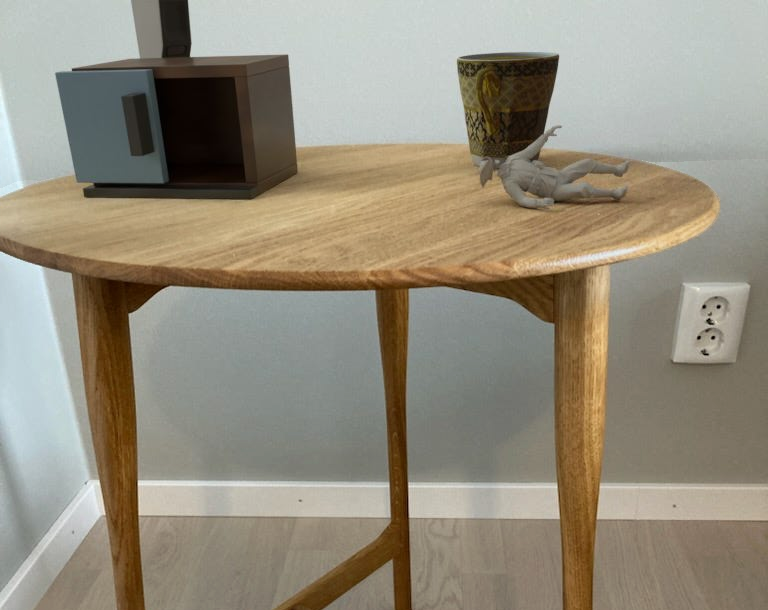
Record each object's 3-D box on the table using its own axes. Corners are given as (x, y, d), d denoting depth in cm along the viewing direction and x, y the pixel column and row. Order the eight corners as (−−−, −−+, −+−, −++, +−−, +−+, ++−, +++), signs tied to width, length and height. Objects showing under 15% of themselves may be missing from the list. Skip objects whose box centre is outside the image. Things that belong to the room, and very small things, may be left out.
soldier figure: (626, 222, 75) (489, 181, 72) (599, 251, 79) (468, 214, 77) (634, 141, 77) (500, 99, 74) (606, 174, 81) (480, 136, 79)
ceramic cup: (477, 153, 101) (478, 52, 96) (565, 156, 97) (571, 51, 92) (430, 175, 91) (428, 63, 86) (526, 179, 87) (531, 62, 82)
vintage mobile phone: (182, 167, 100) (143, -107, 88) (156, 163, 103) (114, -102, 91) (209, 162, 102) (175, -106, 90) (183, 158, 105) (146, -101, 93)
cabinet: (84, 197, 88) (59, 70, 82) (147, 171, 99) (129, 58, 93) (251, 199, 84) (236, 66, 78) (298, 172, 95) (288, 54, 89)
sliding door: (63, 187, 86) (39, 75, 81) (83, 180, 89) (61, 71, 84) (151, 188, 84) (133, 72, 79) (169, 181, 87) (152, 69, 82)
